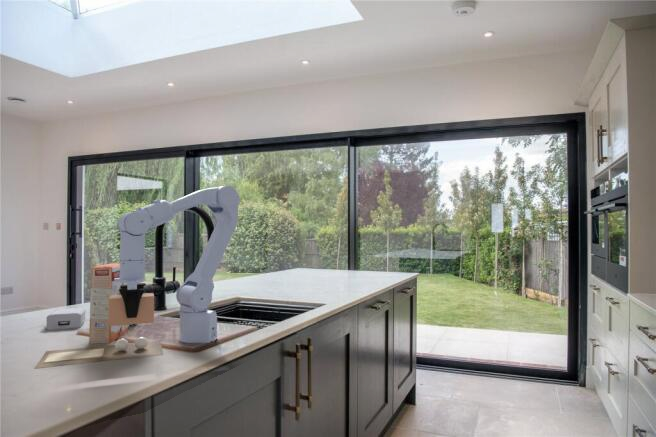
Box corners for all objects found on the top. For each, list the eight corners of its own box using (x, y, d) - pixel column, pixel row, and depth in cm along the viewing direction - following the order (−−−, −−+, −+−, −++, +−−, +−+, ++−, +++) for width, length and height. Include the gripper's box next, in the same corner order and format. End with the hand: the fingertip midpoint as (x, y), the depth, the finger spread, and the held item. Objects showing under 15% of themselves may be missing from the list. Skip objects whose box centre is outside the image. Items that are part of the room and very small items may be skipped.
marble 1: (130, 349, 108) (130, 337, 108) (123, 353, 105) (124, 340, 105) (119, 349, 109) (119, 337, 109) (112, 352, 106) (112, 340, 106)
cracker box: (112, 346, 115) (113, 266, 115) (88, 347, 114) (89, 266, 114) (130, 333, 128) (130, 262, 129) (108, 334, 128) (109, 262, 128)
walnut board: (160, 344, 117) (160, 339, 117) (163, 358, 104) (163, 353, 104) (46, 355, 107) (46, 350, 107) (34, 373, 94) (34, 367, 94)
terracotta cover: (152, 318, 113) (153, 292, 113) (153, 322, 107) (154, 296, 108) (109, 321, 108) (109, 295, 109) (108, 326, 103) (108, 298, 103)
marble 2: (150, 347, 110) (150, 335, 110) (143, 351, 107) (143, 338, 107) (138, 347, 110) (138, 335, 110) (132, 350, 107) (132, 338, 107)
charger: (87, 318, 150) (80, 328, 136) (56, 320, 146) (46, 330, 132) (87, 304, 150) (81, 312, 136) (56, 306, 146) (46, 314, 132)
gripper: (115, 258, 113) (115, 311, 113) (113, 262, 100) (112, 322, 100) (145, 257, 116) (144, 309, 116) (146, 262, 103) (146, 319, 103)
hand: (131, 315), depth 108 cm, fingers closed on terracotta cover, 6 cm apart
